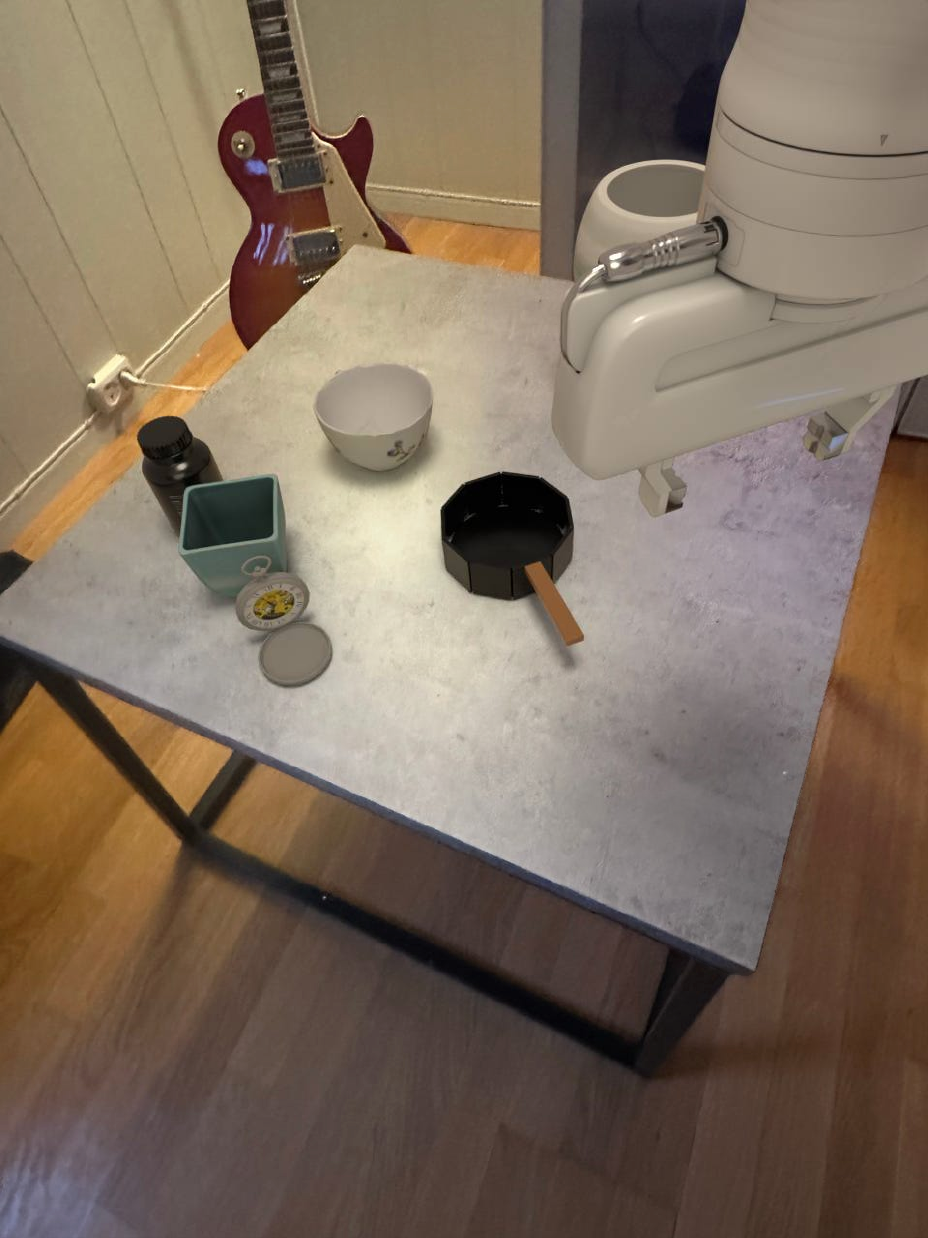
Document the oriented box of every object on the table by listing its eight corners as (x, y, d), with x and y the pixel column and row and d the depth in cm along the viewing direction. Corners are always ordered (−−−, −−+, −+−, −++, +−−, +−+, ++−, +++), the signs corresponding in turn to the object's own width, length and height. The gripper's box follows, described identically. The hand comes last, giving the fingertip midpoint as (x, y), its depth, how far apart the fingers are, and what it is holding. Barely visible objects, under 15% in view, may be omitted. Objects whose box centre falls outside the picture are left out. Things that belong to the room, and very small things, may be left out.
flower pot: (300, 535, 78) (277, 470, 71) (302, 601, 73) (277, 538, 66) (216, 549, 78) (183, 485, 71) (212, 616, 73) (176, 555, 66)
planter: (539, 390, 90) (541, 193, 72) (631, 332, 95) (654, 136, 77) (644, 454, 82) (675, 251, 64) (737, 386, 87) (790, 182, 69)
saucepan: (639, 644, 67) (645, 613, 64) (505, 693, 65) (503, 664, 62) (541, 491, 80) (541, 457, 76) (426, 528, 78) (420, 495, 74)
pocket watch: (304, 699, 66) (272, 633, 58) (231, 662, 69) (192, 595, 61) (356, 631, 70) (334, 561, 62) (286, 599, 73) (256, 528, 65)
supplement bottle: (248, 502, 82) (210, 412, 72) (220, 548, 78) (176, 460, 68) (192, 493, 83) (148, 404, 74) (162, 538, 80) (111, 450, 70)
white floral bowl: (461, 460, 83) (455, 400, 77) (363, 510, 80) (349, 452, 73) (393, 394, 91) (382, 335, 85) (301, 437, 88) (282, 378, 81)
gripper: (606, 309, 24) (583, 586, 35) (1128, 159, 27) (954, 457, 38) (526, 222, 27) (528, 498, 38) (993, 99, 30) (870, 387, 42)
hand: (742, 477), depth 38 cm, fingers open, 8 cm apart
